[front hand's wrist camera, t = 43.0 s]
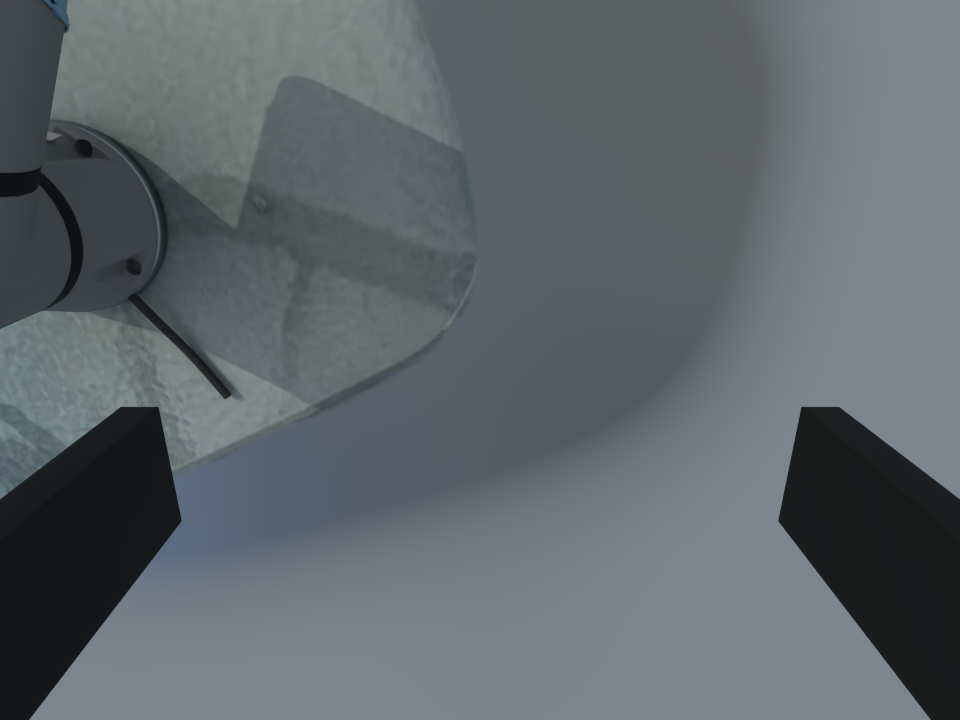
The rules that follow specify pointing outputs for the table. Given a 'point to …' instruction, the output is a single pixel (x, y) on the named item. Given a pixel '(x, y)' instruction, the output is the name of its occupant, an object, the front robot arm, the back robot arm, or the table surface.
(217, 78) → the table surface
